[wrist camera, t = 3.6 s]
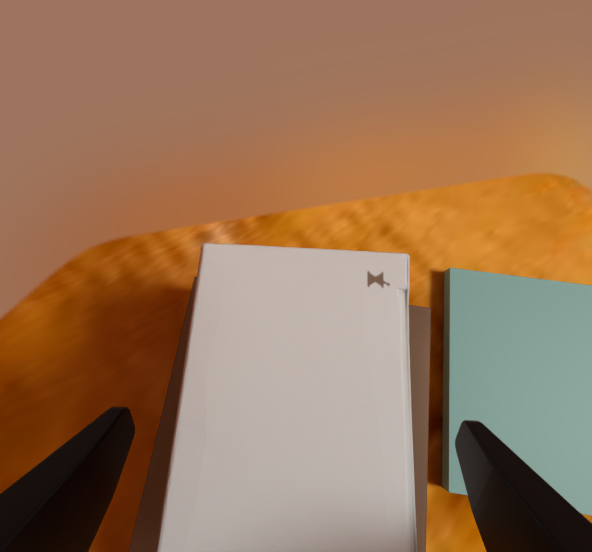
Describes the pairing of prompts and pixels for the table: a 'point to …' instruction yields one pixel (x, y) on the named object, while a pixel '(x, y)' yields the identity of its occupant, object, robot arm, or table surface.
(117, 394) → the table surface
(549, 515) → the robot arm
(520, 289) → the pad
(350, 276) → the small box
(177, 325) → the table surface
